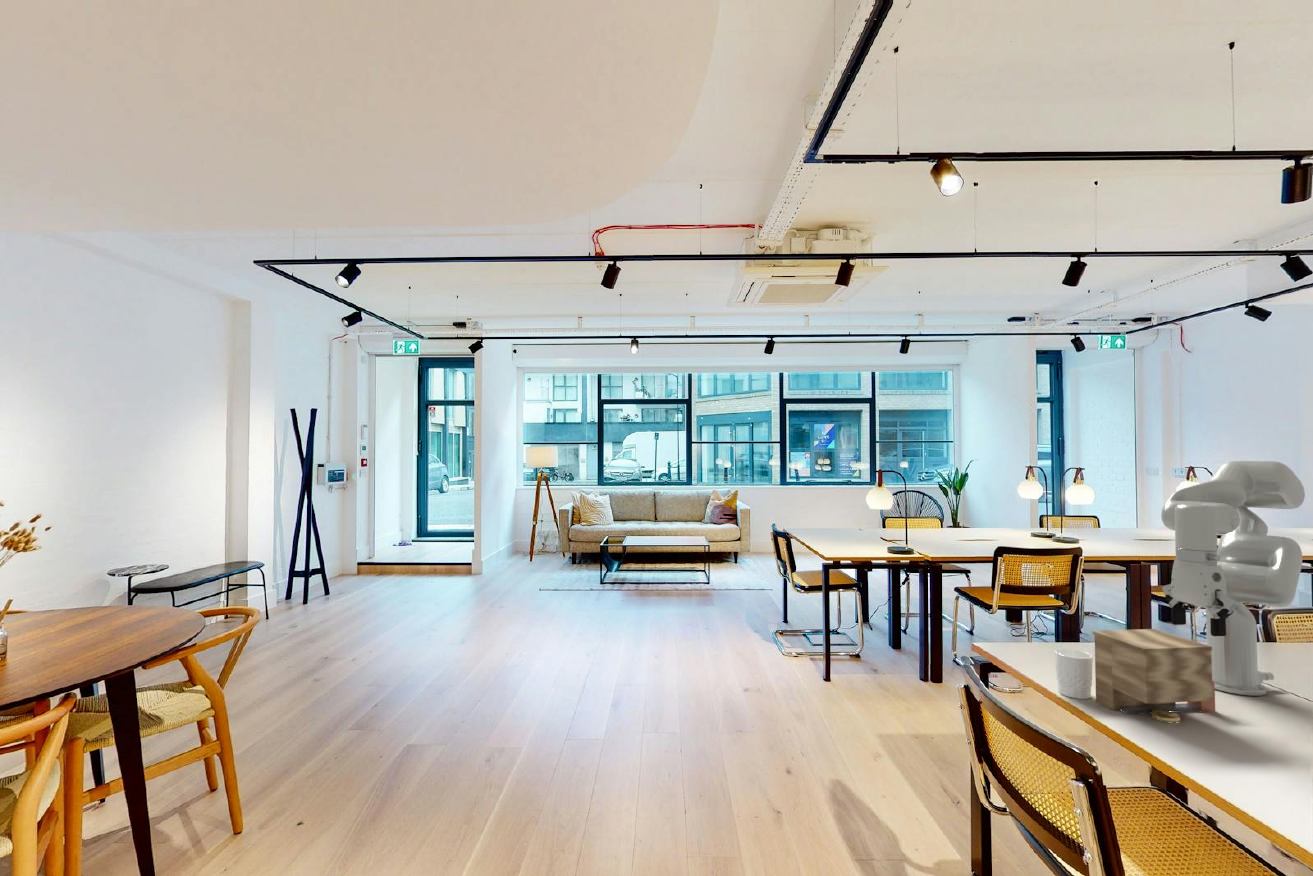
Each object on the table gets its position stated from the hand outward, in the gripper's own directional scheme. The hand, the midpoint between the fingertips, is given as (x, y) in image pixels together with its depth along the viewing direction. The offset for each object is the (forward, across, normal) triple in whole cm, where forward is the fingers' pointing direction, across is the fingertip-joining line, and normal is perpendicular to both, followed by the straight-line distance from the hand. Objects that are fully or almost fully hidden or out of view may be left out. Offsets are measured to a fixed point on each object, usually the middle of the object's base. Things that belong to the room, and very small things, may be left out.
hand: (1198, 630), depth 147 cm
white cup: (+19, +11, +22) cm, 31 cm away
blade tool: (+18, 0, +9) cm, 20 cm away
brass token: (+19, -4, +13) cm, 23 cm away
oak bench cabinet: (+18, -1, +13) cm, 22 cm away
